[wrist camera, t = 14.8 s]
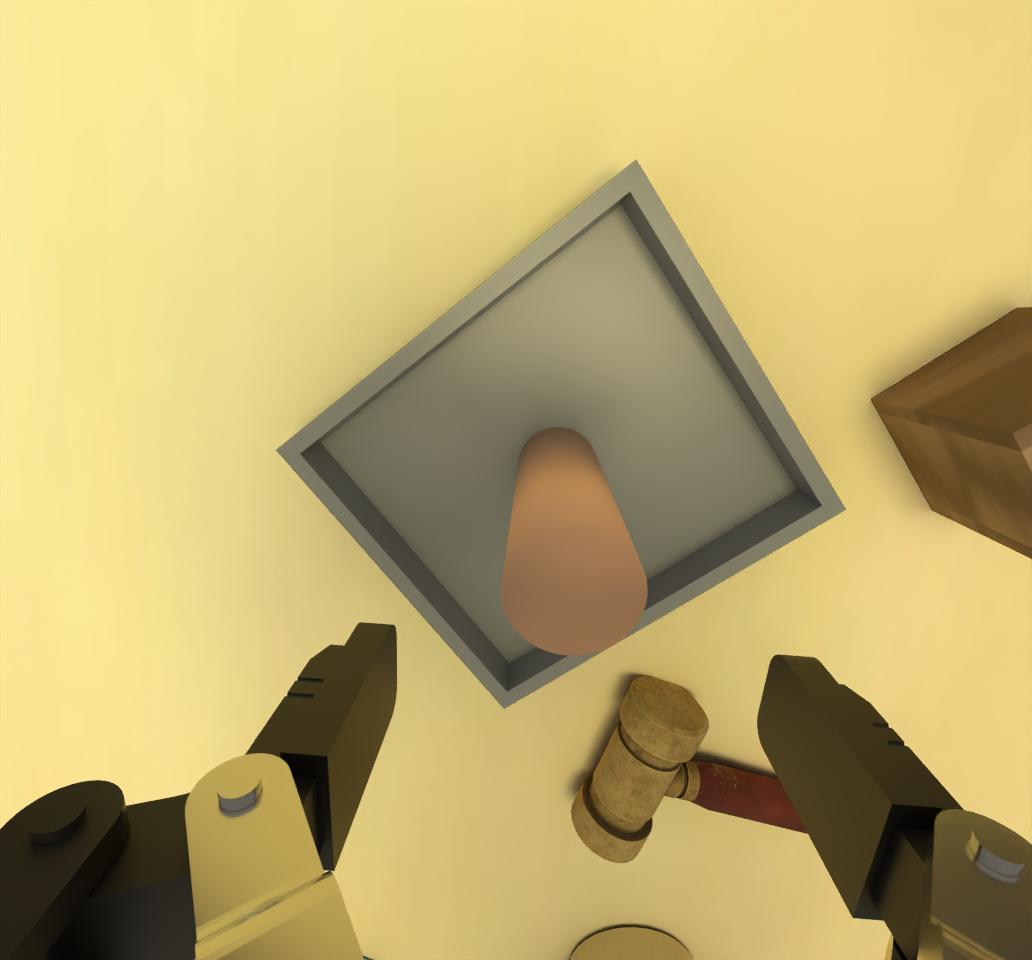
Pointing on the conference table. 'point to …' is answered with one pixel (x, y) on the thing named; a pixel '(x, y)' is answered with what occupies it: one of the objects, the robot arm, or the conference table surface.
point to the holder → (972, 430)
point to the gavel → (665, 775)
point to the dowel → (569, 551)
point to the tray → (574, 405)
